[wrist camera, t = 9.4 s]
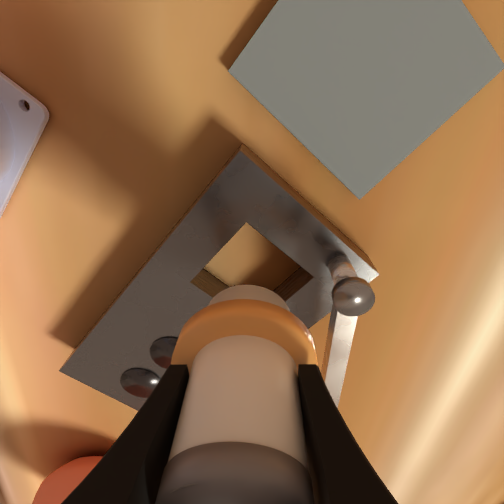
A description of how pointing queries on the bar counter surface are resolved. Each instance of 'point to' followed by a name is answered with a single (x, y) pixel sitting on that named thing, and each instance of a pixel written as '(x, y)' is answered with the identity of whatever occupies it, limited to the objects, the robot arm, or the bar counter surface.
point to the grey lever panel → (209, 277)
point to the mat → (365, 77)
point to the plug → (241, 404)
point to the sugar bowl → (64, 480)
